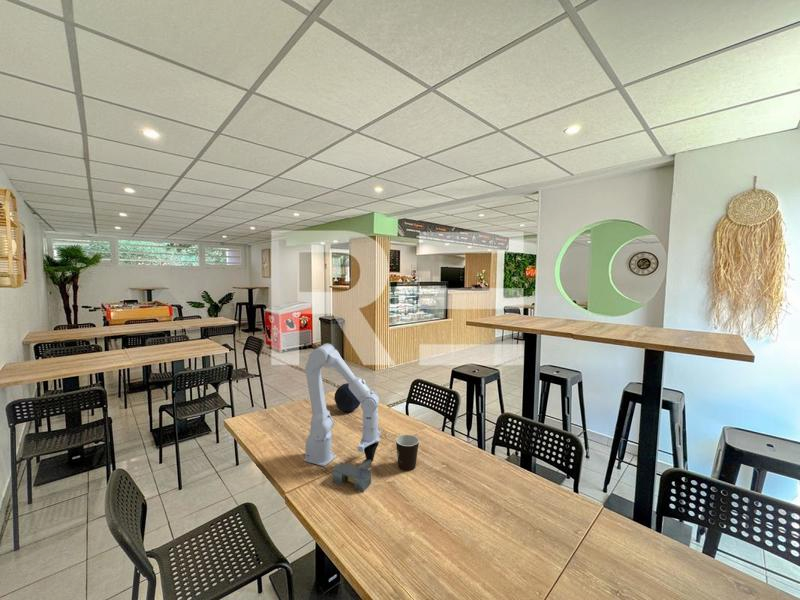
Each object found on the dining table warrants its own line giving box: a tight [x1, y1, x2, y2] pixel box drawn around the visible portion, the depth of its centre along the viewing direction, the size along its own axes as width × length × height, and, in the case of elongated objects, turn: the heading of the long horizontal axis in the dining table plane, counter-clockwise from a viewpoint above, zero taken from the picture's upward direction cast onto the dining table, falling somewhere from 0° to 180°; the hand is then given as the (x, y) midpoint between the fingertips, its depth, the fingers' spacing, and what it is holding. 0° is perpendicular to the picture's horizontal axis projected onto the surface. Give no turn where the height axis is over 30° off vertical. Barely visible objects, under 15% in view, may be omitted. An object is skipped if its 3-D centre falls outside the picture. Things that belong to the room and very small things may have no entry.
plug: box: [347, 458, 372, 484], centre depth 115 cm, size 12×3×3 cm, turn 156°
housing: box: [332, 461, 372, 493], centre depth 110 cm, size 12×5×4 cm, turn 67°
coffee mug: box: [395, 434, 420, 472], centre depth 121 cm, size 12×9×10 cm
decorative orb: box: [334, 382, 362, 413], centre depth 170 cm, size 14×15×15 cm
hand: (369, 461), depth 121 cm, fingers closed
